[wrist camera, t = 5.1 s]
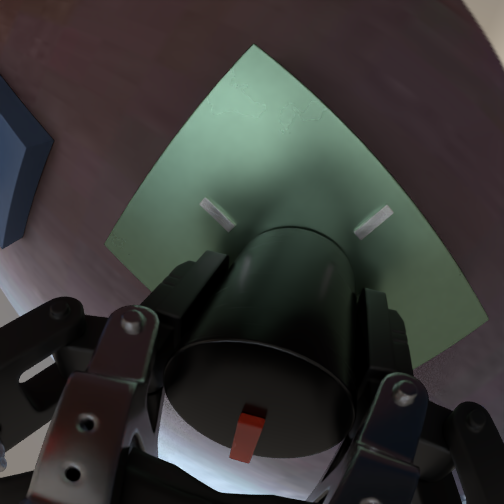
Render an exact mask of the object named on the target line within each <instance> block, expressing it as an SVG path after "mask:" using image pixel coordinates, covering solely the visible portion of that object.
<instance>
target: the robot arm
mask: <svg viewBox="0 0 504 504" xmlns="http://www.w3.org/2000/svg"><path fill="white" fill-rule="evenodd" d="M228 269H229V255H226V254H222V253H218V252H214V251H210V250H206V251H205V252H204V253H203V255H202V256H201V257H200V258H199V259H198V260H197V261H196V262H194V261H190V260H189V261H187V262H184V263H182V264H180V265H178V266H176V267H175V268H174V269H173V270H172V272H171V273H170V274H169V276H167V277H166V278H165V279H164V280H163V281H162V283H160V284H159V285H158V286H157V287H156V288H155V289H154V290H153V292H152V293H151V294H150V295H149V296H148V297H147V298H146V299H145V300H144V301H143V302H142V303H141V304H140V305H130V306H125V307H121V308H119V309H117V310H115V311H114V312H113V313H112V314H111V315H110V316H109V318H106V317H98V316H90V315H85V314H84V309H83V305H82V304H81V302H80V301H78V300H77V299H75V298H72V297H58V298H55V299H52V300H50V301H48V302H46V303H44V304H42V305H41V306H39V307H37V308H35V309H33V310H31V311H29V312H28V313H26V314H24V315H22V316H20V317H19V318H17V319H15V320H13V321H11V322H10V323H8V324H6V325H4V326H3V327H1V328H0V472H1V471H4V470H5V469H6V466H7V462H6V459H5V458H4V456H5V452H6V451H8V450H9V449H11V448H12V447H14V446H15V445H16V444H18V443H19V442H21V441H22V440H24V439H25V438H26V437H28V436H29V435H31V434H32V433H33V432H35V431H36V430H38V429H39V428H41V427H42V426H43V425H45V424H46V423H48V422H49V421H50V420H51V423H50V425H49V428H48V431H47V433H46V436H45V439H44V442H43V445H42V448H41V451H40V454H39V457H38V460H37V463H36V466H35V469H34V471H29V472H25V473H21V474H17V475H12V476H7V477H3V478H0V504H462V502H461V498H460V495H459V492H458V489H457V486H456V483H455V480H454V477H453V474H452V471H453V470H454V469H455V468H456V470H457V473H458V476H459V479H460V482H461V485H462V488H463V491H464V494H465V497H466V504H504V443H503V441H502V439H501V437H500V435H499V432H498V430H497V428H496V426H495V424H494V422H493V420H492V418H491V416H490V414H489V413H488V412H487V410H486V409H485V408H484V407H482V406H481V405H479V404H477V403H475V402H463V403H461V404H459V405H458V406H457V407H456V408H455V410H454V411H451V410H449V409H447V408H444V407H442V406H439V405H437V404H435V403H433V402H431V401H429V397H428V392H427V390H426V388H425V386H424V385H423V384H422V383H421V382H420V381H419V380H418V379H417V378H415V377H414V375H413V368H412V362H411V356H410V350H409V344H408V339H407V335H406V329H405V324H404V321H403V319H402V318H401V316H400V315H399V313H398V312H397V311H396V310H392V309H388V303H387V298H386V293H385V292H381V291H376V290H372V289H368V288H363V290H362V292H361V294H360V297H359V299H358V302H357V324H358V391H357V414H356V420H355V423H354V426H353V428H352V429H351V431H350V432H349V434H348V435H347V436H346V437H345V438H344V439H343V440H342V442H341V443H340V445H339V447H338V449H337V451H336V453H335V455H334V457H333V458H332V460H331V462H330V464H329V466H328V467H327V469H326V471H325V473H324V474H323V476H322V478H321V479H320V481H319V483H318V484H317V486H316V487H315V489H314V490H313V491H312V493H311V494H310V495H309V497H308V498H307V499H306V501H302V500H296V499H291V498H286V497H281V496H276V495H248V494H230V493H221V492H218V491H216V490H214V489H212V488H210V487H209V486H207V485H205V484H204V483H202V482H201V481H199V480H197V479H196V478H194V477H193V476H191V475H190V474H188V473H186V472H185V471H183V470H182V469H180V468H179V467H178V466H176V465H174V464H171V463H169V462H166V461H164V460H162V459H159V458H158V433H159V427H160V420H161V414H162V408H163V402H164V396H165V390H164V386H163V371H164V367H165V364H166V362H167V360H168V358H169V357H170V355H171V354H172V352H173V351H174V349H175V348H176V346H177V345H178V343H179V342H180V340H181V339H182V338H183V336H184V335H185V333H186V332H187V330H188V329H189V327H190V326H191V324H192V323H193V321H194V320H195V318H196V317H197V315H198V314H199V312H200V311H201V309H202V308H203V306H204V305H205V303H206V302H207V300H208V299H209V297H210V296H211V294H212V293H213V291H214V290H215V288H216V287H217V285H218V284H219V282H220V281H221V280H222V278H223V277H224V275H225V274H226V272H227V271H228ZM50 355H53V357H54V360H55V363H54V364H52V365H50V366H49V367H47V368H46V369H44V370H43V371H41V372H40V373H38V374H36V375H35V376H34V377H32V378H30V379H29V380H27V381H26V382H23V383H19V378H20V376H21V374H22V373H23V372H25V371H26V370H28V369H29V368H31V367H33V366H34V365H36V364H37V363H39V362H41V361H42V360H44V359H45V358H47V357H48V356H50Z"/></svg>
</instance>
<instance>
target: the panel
mask: <svg viewBox="0 0 504 504" xmlns="http://www.w3.org/2000/svg"><path fill="white" fill-rule="evenodd" d="M280 228H299V229H304V230H309V231H312V232H315V233H317V234H319V235H322V236H324V237H325V238H327V239H329V240H330V241H332V242H333V243H334V244H335V245H337V246H338V247H339V248H340V249H341V250H342V252H343V253H344V254H345V255H346V257H347V258H348V260H349V262H350V264H351V266H352V268H353V271H354V274H355V280H356V297H357V302H358V299H359V297H360V294H361V292H362V290H363V288H368V289H372V290H376V291H381V292H385V293H386V298H387V303H388V309H392V310H396V311H397V312H398V313H399V315H400V316H401V318H402V319H403V321H404V324H405V329H406V335H407V339H408V344H409V350H410V356H411V362H412V368H413V369H415V368H417V367H418V366H420V365H422V364H423V363H425V362H427V361H428V360H430V359H432V358H433V357H435V356H437V355H438V354H440V353H441V352H443V351H444V350H446V349H448V348H449V347H451V346H452V345H454V344H455V343H457V342H458V341H460V340H461V339H463V338H464V337H465V336H467V335H468V334H470V333H471V332H473V331H474V330H475V329H477V328H478V327H479V326H481V325H482V324H484V323H485V322H486V321H488V320H489V318H488V316H487V314H486V312H485V310H484V308H483V307H482V305H481V303H480V301H479V300H478V298H477V296H476V294H475V293H474V291H473V289H472V287H471V286H470V284H469V282H468V281H467V279H466V277H465V276H464V274H463V273H462V271H461V269H460V268H459V266H458V265H457V263H456V262H455V260H454V258H453V257H452V255H451V254H450V252H449V251H448V249H447V248H446V246H445V245H444V243H443V242H442V241H441V239H440V238H439V236H438V235H437V233H436V232H435V231H434V229H433V228H432V226H431V225H430V224H429V222H428V221H427V219H426V218H425V217H424V215H423V214H422V213H421V211H420V210H419V209H418V207H417V206H416V205H415V203H414V202H413V201H412V200H411V198H410V197H409V196H408V195H407V193H406V192H405V191H404V190H403V188H402V187H401V186H400V185H399V183H398V182H397V181H396V180H395V179H394V177H393V176H392V175H391V174H390V173H389V171H388V170H387V169H386V168H385V167H384V166H383V164H382V163H381V162H380V161H379V160H378V159H377V158H376V156H375V155H374V154H373V153H372V152H371V151H370V150H369V149H368V148H367V146H366V145H365V144H364V143H363V142H362V141H361V140H360V139H359V138H358V137H357V136H356V135H355V134H354V133H353V131H352V130H351V129H350V128H349V127H348V126H347V125H346V124H345V123H344V122H343V121H342V120H341V119H340V118H339V117H338V116H337V115H336V114H335V113H334V112H333V111H332V110H331V109H330V108H329V107H328V106H327V105H326V104H324V103H323V102H322V101H321V100H320V99H319V98H318V97H317V96H316V95H315V94H314V93H313V92H312V91H311V90H309V89H308V88H307V87H306V86H305V85H304V84H303V83H302V82H301V81H299V80H298V79H297V78H296V77H295V76H294V75H293V74H291V73H290V72H289V71H288V70H287V69H286V68H284V67H283V66H282V65H281V64H280V63H278V62H277V61H276V60H275V59H273V58H272V57H271V56H270V55H268V54H267V53H266V52H265V51H263V50H262V49H261V48H260V47H258V46H257V45H256V44H252V45H251V46H250V47H249V48H248V49H247V50H246V52H245V53H244V54H243V55H242V56H241V57H240V58H239V59H238V60H237V61H236V62H235V64H234V65H233V66H232V67H231V68H230V69H229V70H228V71H227V72H226V74H225V75H224V76H223V77H222V78H221V79H220V81H219V82H218V83H217V84H216V85H215V86H214V88H213V89H212V90H211V91H210V92H209V94H208V95H207V96H206V97H205V98H204V100H203V101H202V102H201V103H200V104H199V106H198V107H197V108H196V109H195V111H194V112H193V113H192V115H191V116H190V117H189V118H188V120H187V121H186V122H185V123H184V125H183V126H182V127H181V129H180V130H179V131H178V133H177V134H176V135H175V137H174V138H173V139H172V141H171V142H170V143H169V145H168V146H167V148H166V149H165V150H164V152H163V153H162V155H161V156H160V157H159V159H158V160H157V162H156V163H155V164H154V166H153V167H152V169H151V170H150V172H149V173H148V175H147V176H146V178H145V179H144V181H143V182H142V184H141V185H140V187H139V188H138V190H137V191H136V193H135V194H134V196H133V197H132V199H131V201H130V202H129V204H128V205H127V207H126V208H125V210H124V212H123V213H122V215H121V217H120V218H119V220H118V222H117V223H116V225H115V227H114V228H113V230H112V232H111V233H110V235H109V237H108V238H107V240H106V242H105V244H104V245H105V246H106V247H107V248H108V249H109V250H110V251H111V252H112V253H113V254H114V255H115V256H116V257H117V258H118V259H119V260H120V261H121V262H122V263H123V264H124V265H125V266H126V267H127V268H128V269H129V270H130V271H131V272H132V273H133V274H134V275H135V276H136V277H137V278H138V279H139V280H140V281H141V282H142V283H143V284H144V285H145V286H146V287H147V288H148V289H149V290H150V291H151V292H153V290H154V289H155V288H156V287H157V286H158V285H159V284H160V283H162V281H163V280H164V279H165V278H166V277H167V276H169V274H170V273H171V272H172V270H173V269H174V268H175V267H176V266H178V265H180V264H182V263H184V262H187V261H189V260H190V261H194V262H196V261H197V260H198V259H199V258H200V257H201V256H202V255H203V253H204V252H205V251H206V250H210V251H214V252H218V253H222V254H226V255H229V268H230V266H231V265H232V263H233V262H234V260H235V259H236V257H237V256H238V254H239V253H240V252H241V250H242V249H243V248H244V246H245V245H247V244H248V243H249V242H250V241H251V240H252V239H254V238H255V237H257V236H259V235H261V234H263V233H265V232H268V231H271V230H275V229H280Z"/></svg>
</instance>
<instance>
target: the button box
mask: <svg viewBox="0 0 504 504" xmlns="http://www.w3.org/2000/svg"><path fill="white" fill-rule="evenodd" d="M53 142H54V140H53V139H52V138H51V137H50V135H49V134H48V133H47V132H46V131H45V130H44V128H43V127H42V126H41V125H40V124H39V122H38V121H37V120H36V119H35V118H34V117H33V115H32V114H31V113H30V112H29V111H28V109H27V108H26V107H25V106H24V104H23V103H22V102H21V101H20V99H19V98H18V97H17V96H16V95H15V93H14V92H13V91H12V89H11V88H10V87H9V86H8V84H7V83H6V82H5V81H4V79H3V78H2V77H1V75H0V247H1V248H2V249H4V248H5V247H7V246H9V245H10V244H12V243H14V242H15V241H17V240H19V239H20V238H22V237H23V234H24V230H25V226H26V222H27V218H28V214H29V211H30V207H31V204H32V201H33V197H34V194H35V191H36V188H37V185H38V182H39V179H40V176H41V173H42V170H43V168H44V165H45V162H46V159H47V157H48V154H49V152H50V149H51V147H52V144H53Z"/></svg>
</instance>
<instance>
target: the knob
mask: <svg viewBox="0 0 504 504" xmlns="http://www.w3.org/2000/svg"><path fill="white" fill-rule="evenodd" d="M163 386H164V390H165V393H166V396H167V398H168V400H169V401H170V403H171V405H172V406H173V408H174V409H175V410H176V412H177V413H178V414H179V415H180V416H181V417H182V418H183V419H184V420H185V421H186V422H187V423H188V424H189V425H190V426H192V427H193V428H194V429H195V430H197V431H198V432H200V433H201V434H203V435H204V436H206V437H208V438H209V439H211V440H213V441H215V442H217V443H219V444H221V445H223V446H226V447H228V448H231V452H230V456H229V458H231V459H235V460H238V461H241V462H245V463H250V460H251V458H252V455H256V456H261V457H269V458H298V457H305V456H310V455H314V454H317V453H321V452H323V451H326V450H328V449H330V448H332V447H334V446H335V445H337V444H338V443H340V442H341V441H342V440H343V439H344V438H345V437H346V436H347V435H348V434H349V432H350V431H351V429H352V428H353V426H354V423H355V420H356V414H357V391H358V324H357V297H356V280H355V274H354V271H353V268H352V266H351V264H350V262H349V260H348V258H347V257H346V255H345V254H344V253H343V252H342V250H341V249H340V248H339V247H338V246H337V245H335V244H334V243H333V242H332V241H330V240H329V239H327V238H325V237H324V236H322V235H319V234H317V233H315V232H312V231H309V230H304V229H299V228H280V229H275V230H271V231H268V232H265V233H263V234H261V235H259V236H257V237H255V238H254V239H252V240H251V241H250V242H249V243H248V244H247V245H245V246H244V248H243V249H242V250H241V252H240V253H239V254H238V256H237V257H236V259H235V260H234V262H233V263H232V265H231V266H230V268H229V269H228V271H227V272H226V274H225V275H224V277H223V278H222V280H221V281H220V282H219V284H218V285H217V287H216V288H215V290H214V291H213V293H212V294H211V296H210V297H209V299H208V300H207V302H206V303H205V305H204V306H203V308H202V309H201V311H200V312H199V314H198V315H197V317H196V318H195V320H194V321H193V323H192V324H191V326H190V327H189V329H188V330H187V332H186V333H185V335H184V336H183V338H182V339H181V340H180V342H179V343H178V345H177V346H176V348H175V349H174V351H173V352H172V354H171V355H170V357H169V358H168V360H167V362H166V364H165V367H164V371H163Z"/></svg>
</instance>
